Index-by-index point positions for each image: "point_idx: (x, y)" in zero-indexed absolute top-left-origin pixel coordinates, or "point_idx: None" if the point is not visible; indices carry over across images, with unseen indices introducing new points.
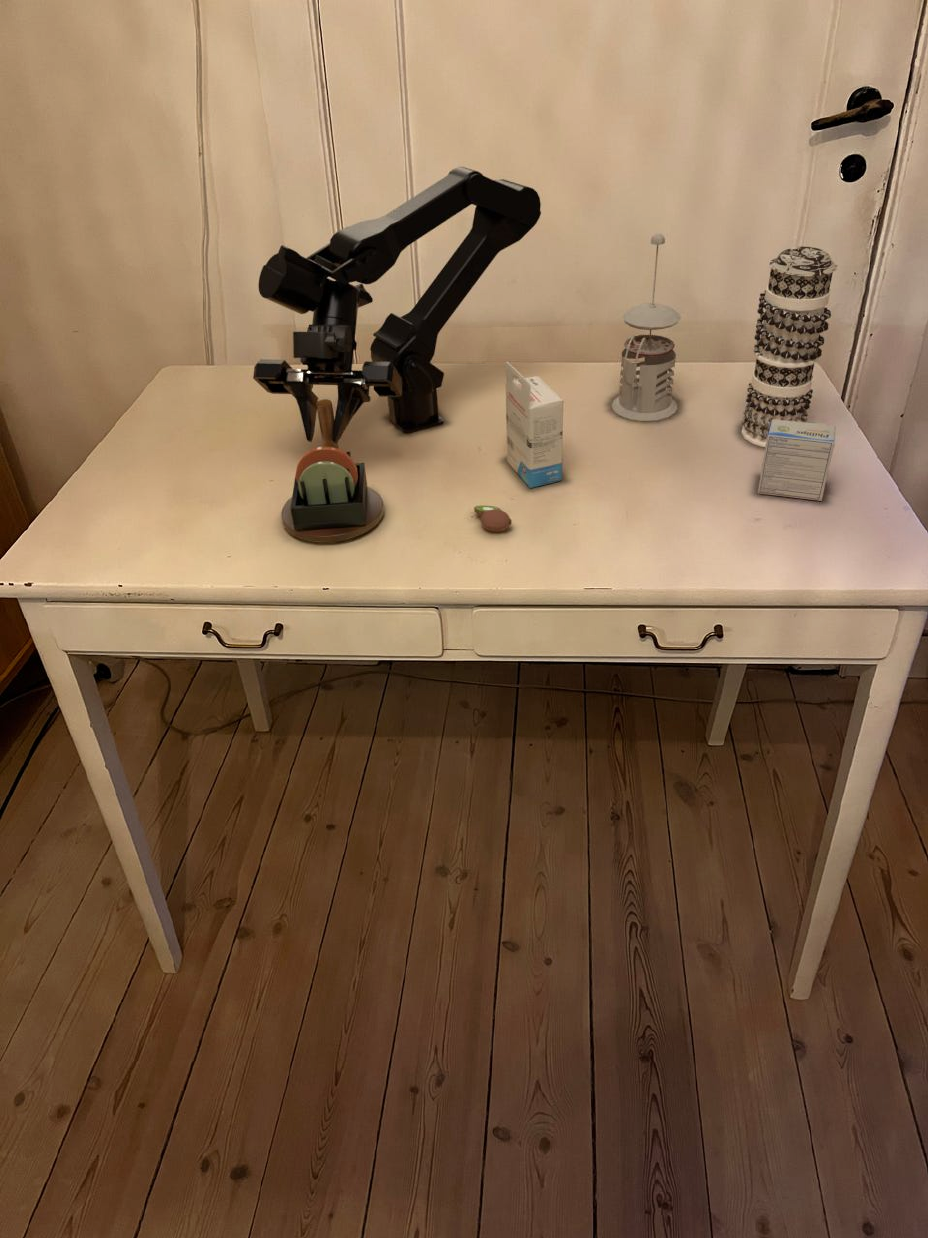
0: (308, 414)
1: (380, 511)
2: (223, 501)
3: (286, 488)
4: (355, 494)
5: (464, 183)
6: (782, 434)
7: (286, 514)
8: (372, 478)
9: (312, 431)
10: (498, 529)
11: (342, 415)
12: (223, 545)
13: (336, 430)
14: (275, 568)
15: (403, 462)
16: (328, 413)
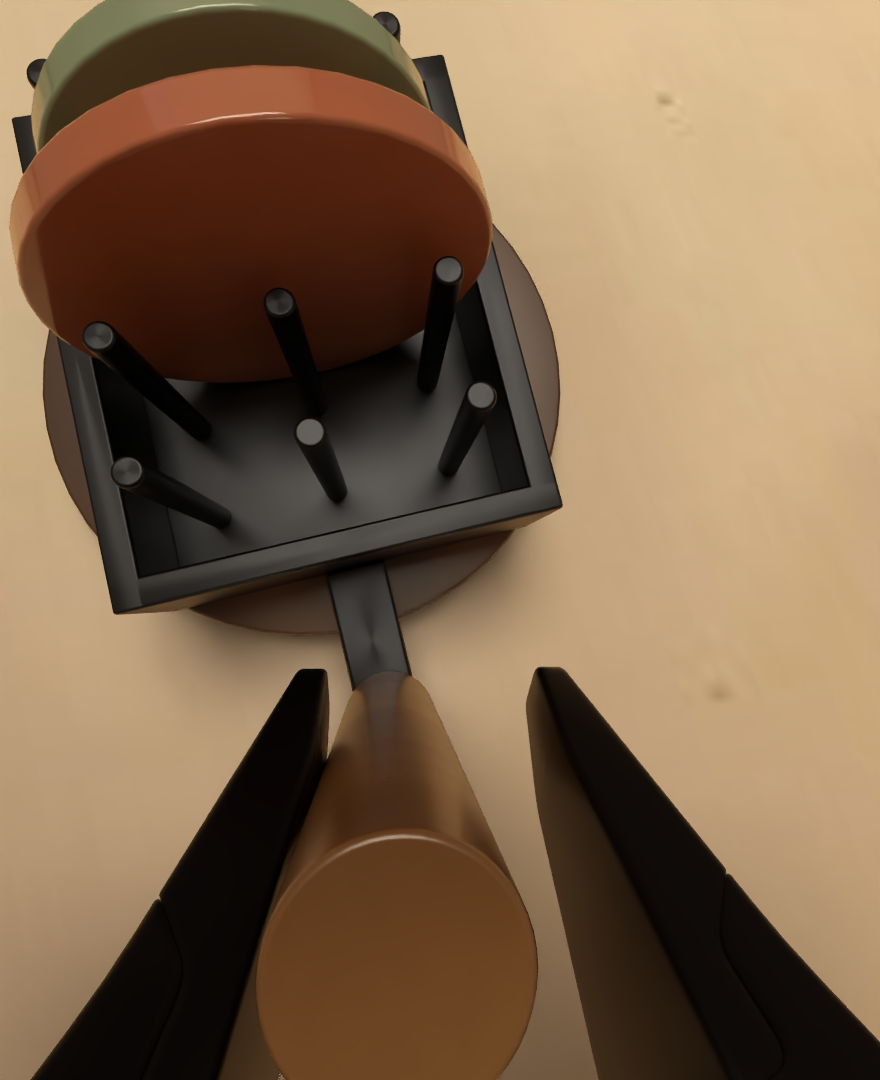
0: (629, 869)
1: (46, 361)
2: (860, 491)
3: (623, 630)
4: (187, 438)
5: None
6: None
7: (520, 307)
8: (213, 778)
9: (543, 773)
10: None
11: (169, 890)
12: (719, 171)
13: (277, 735)
14: (455, 32)
15: (70, 979)
16: (321, 809)
